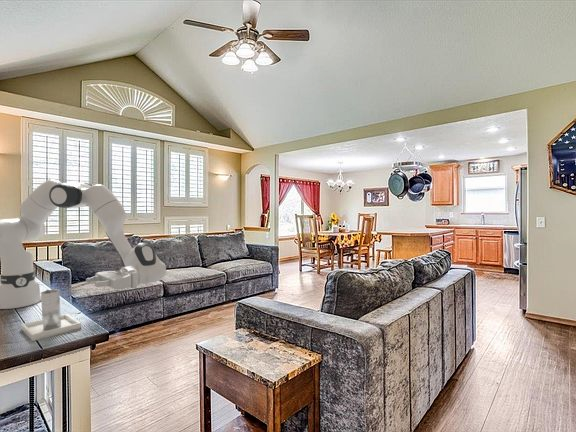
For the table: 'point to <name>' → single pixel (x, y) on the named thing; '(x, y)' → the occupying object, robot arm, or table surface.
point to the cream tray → (36, 330)
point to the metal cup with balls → (51, 309)
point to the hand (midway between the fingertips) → (90, 282)
